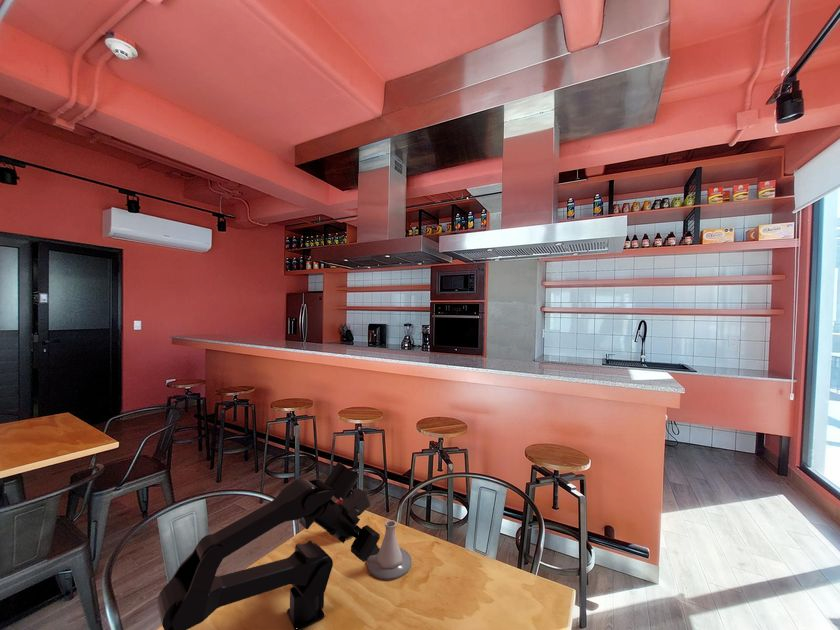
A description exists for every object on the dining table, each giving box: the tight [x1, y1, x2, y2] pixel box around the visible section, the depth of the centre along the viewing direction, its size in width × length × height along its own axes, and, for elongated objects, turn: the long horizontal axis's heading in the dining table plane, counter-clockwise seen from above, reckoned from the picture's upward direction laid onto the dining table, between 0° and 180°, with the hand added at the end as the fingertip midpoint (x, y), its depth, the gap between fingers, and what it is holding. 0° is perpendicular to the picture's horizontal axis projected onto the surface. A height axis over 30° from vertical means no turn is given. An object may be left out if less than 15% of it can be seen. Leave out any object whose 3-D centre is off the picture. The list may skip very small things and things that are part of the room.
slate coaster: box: [366, 547, 412, 581], centre depth 94 cm, size 12×12×1 cm
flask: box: [377, 519, 402, 568], centre depth 94 cm, size 7×7×10 cm
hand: (367, 543), depth 88 cm, fingers open, 9 cm apart
